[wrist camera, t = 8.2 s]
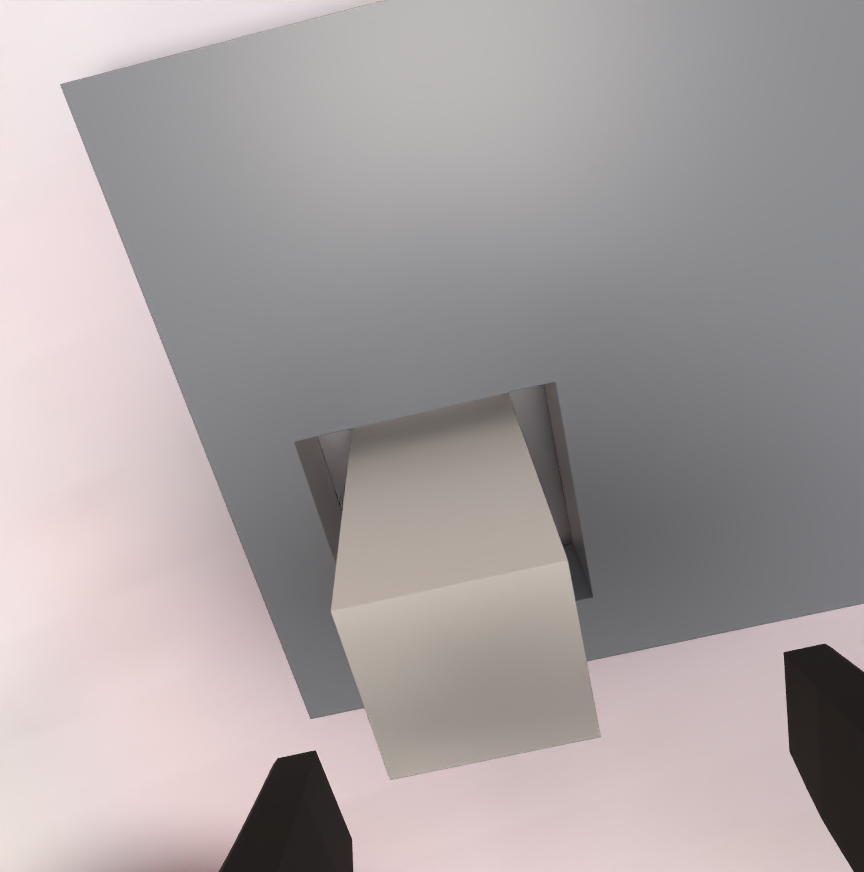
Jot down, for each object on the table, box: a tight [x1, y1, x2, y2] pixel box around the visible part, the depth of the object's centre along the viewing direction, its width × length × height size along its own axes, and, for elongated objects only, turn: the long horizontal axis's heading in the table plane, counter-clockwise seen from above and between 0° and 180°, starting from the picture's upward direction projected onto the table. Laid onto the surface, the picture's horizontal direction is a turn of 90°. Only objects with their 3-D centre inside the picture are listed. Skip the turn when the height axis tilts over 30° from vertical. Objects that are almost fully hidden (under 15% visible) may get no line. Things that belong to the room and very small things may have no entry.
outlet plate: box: [60, 0, 864, 719], centre depth 19 cm, size 16×16×2 cm
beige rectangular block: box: [331, 393, 601, 780], centre depth 17 cm, size 4×4×8 cm
